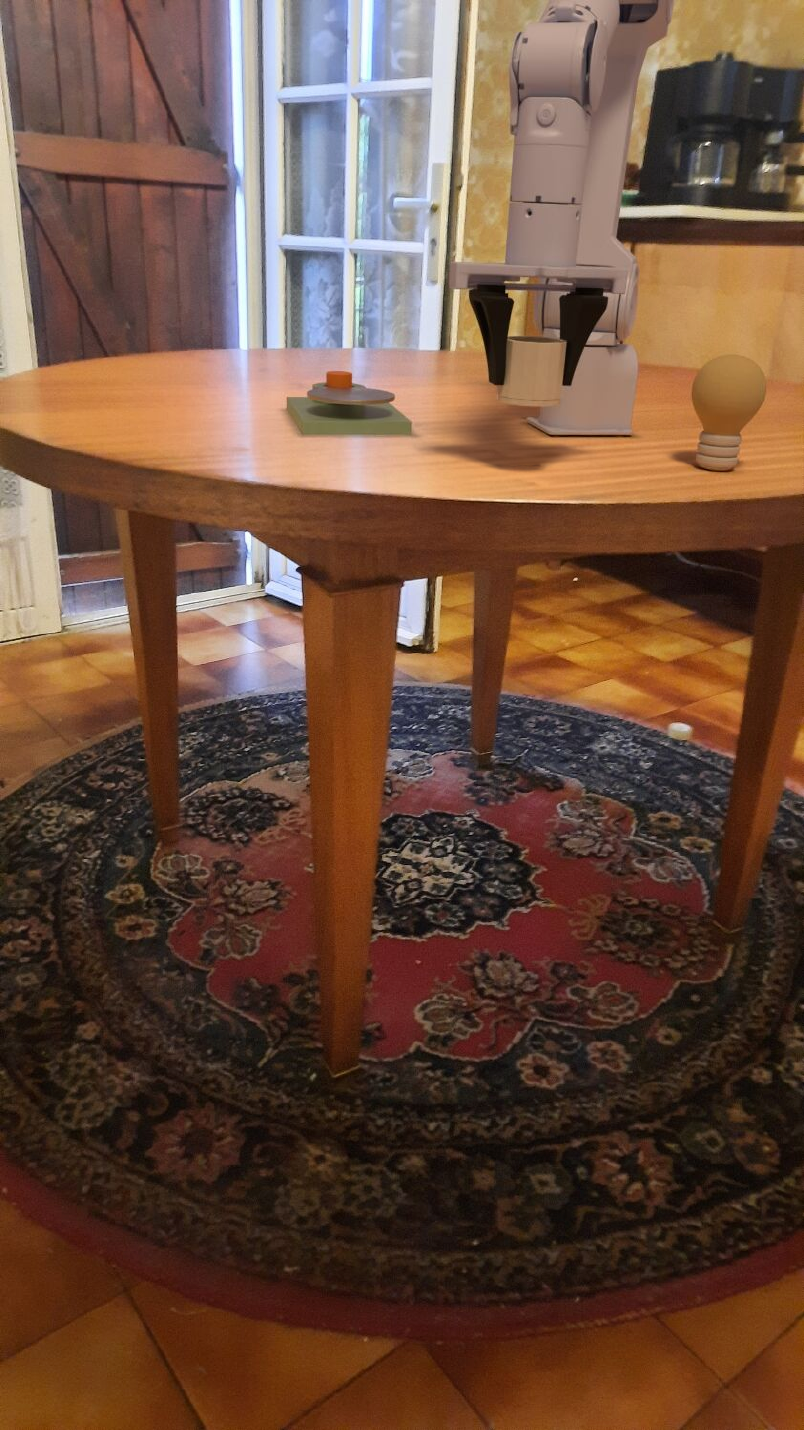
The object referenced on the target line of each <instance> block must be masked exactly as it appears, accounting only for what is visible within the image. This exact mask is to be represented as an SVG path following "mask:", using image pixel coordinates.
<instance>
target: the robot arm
mask: <svg viewBox="0 0 804 1430" xmlns="http://www.w3.org/2000/svg"><path fill="white" fill-rule="evenodd" d="M674 4H675V0H549V1H548V3H547V5H546V7H545V9H544V11H543V13H542V14H541V16H540V18H539V19H538V22H529V23H528V24H527V25H526V26H525V29H524V31H522V30H518V31H517V32H516V34H515V35H514V37H513V41H512V46H511V51H510V57H509V58H510V59H509V73H508V74H509V81H508V82H509V97H510V115H509V116H510V118H509V126H510V128H509V129H510V131H509V133H510V135H512V136H514V137H513V148H512V149H513V151H512V162H511V163H512V164H511V178H510V188H509V190H510V191H509V204H508V216H507V229H506V243H505V244H506V245H505V254H504V255H505V256H504V262H472V261H471V262H469V261H468V262H466V261H450V262H449V281H448V287H449V289H454V290H468V300H469V303H470V305H471V308H472V310H473V313H474V316H475V319H476V322H477V325H478V327H479V331H480V335H481V338H482V342H483V348H484V351H485V357H486V365H487V372H488V382H489V383H490V384H492V385H494V386H498V385H504V379H505V371H506V347H507V338H508V336H509V332H510V331H509V330H510V325H511V319H512V314H513V310H514V305H515V300H514V299H513V298H512V297H509V292H506V291H531V292H534V298H533V307H532V308H533V310H532V311H533V312H532V318H533V325H534V328H535V330H536V331H537V333H538V334H539V335H540V336H542V337H550V338H558V339H563V340H566V341H567V346H566V355H565V365H564V375H563V384H562V394H561V402H560V404H559V405H556V406H548V407H539V417H535V416H533V417H531V416H530V417H528V416H527V417H526V420H525V421H526V423H528V424H530V425H532V427H535V428H536V429H538V430H540V431H542V432H544V433H545V434H547V435H551V436H633V435H634V430H633V429H632V424H633V417H634V410H635V409H634V408H635V401H636V393H637V387H638V380H639V358H638V353H637V351H636V349H635V348H634V347H633V345H630V344H626V343H621V341H622V342H624V341H626V339H627V338H629V337H630V336H631V334H632V332H633V327H634V324H635V318H636V312H637V305H638V295H639V276H640V265H639V264H638V260H637V257H636V256H635V255H634V253H632V251H630V250H629V249H628V248H627V247H626V246H625V245H624V244H623V243H622V242H621V241H620V240H619V239H618V238H617V235H618V229H619V220H620V213H621V205H622V200H623V191H624V186H625V178H626V170H627V164H628V157H629V150H630V143H631V135H632V126H633V122H634V114H635V108H636V107H635V105H636V99H637V91H638V85H639V79H640V74H641V71H642V68H643V64H644V61H645V58H646V55H647V52H648V49H649V48H650V47H652V46H653V45H655V44H656V43H658V42H659V41H661V40H663V39H664V38H666V37H667V35H668V28H669V25H670V24H671V22H672V17H673V11H674ZM521 278H531V279H532V278H534V279H535V278H536V279H538V280H537V283H519V282H521ZM512 282H513V283H512ZM515 282H516V283H515Z"/></svg>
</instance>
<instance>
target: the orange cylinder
mask: <svg viewBox="0 0 804 1430" xmlns="http://www.w3.org/2000/svg"><path fill="white" fill-rule="evenodd" d="M325 375H326V376H325V379H326V380H325V382H326V387H352V383H353V373H352V372H350V371H346V370H345V371H343V370H329V371H327V372H326V373H325Z"/></svg>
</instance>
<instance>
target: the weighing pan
mask: <svg viewBox="0 0 804 1430" xmlns="http://www.w3.org/2000/svg"><path fill="white" fill-rule="evenodd" d="M306 397H308V398H310V399H312V400H315V401H320V402H326V403H334V404H348V405H371V404H383V403H388V402H389V403H392V402H394V401H395V399H396V395H395V394H394V393H393V392H391V391H387V390H383V389H376V388H371V387H366V388H358V387H326V388H317V389H309V390H308V391H306Z"/></svg>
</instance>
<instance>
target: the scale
mask: <svg viewBox="0 0 804 1430" xmlns="http://www.w3.org/2000/svg"><path fill="white" fill-rule="evenodd" d="M352 387H358V388H367V387H366V386H365V385H364V384H359V383H354V382H352ZM311 388H312V389H317V388H326V381H324V382H316V383H314V384H312V387H311ZM312 389H311V390H312ZM286 410H287V413H288V414H289V415H290V417H291V419H292V420H293V422H294V423H295V425H296V426H297V428H298V430H299V431H300V433H301V435H302V436H412V429H413V422H412V421H411V420H410V419H409V417H407V416H406V415H405V414H403V413H402V412H401V411H400V410H398V409H397V408H396V407H395V406H394V405H392V404H391V402H388V403H383V404H371V405H348V404H334V403H326V402H320V401H315V400H312V399H310V398H308V397H307V396H286Z"/></svg>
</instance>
